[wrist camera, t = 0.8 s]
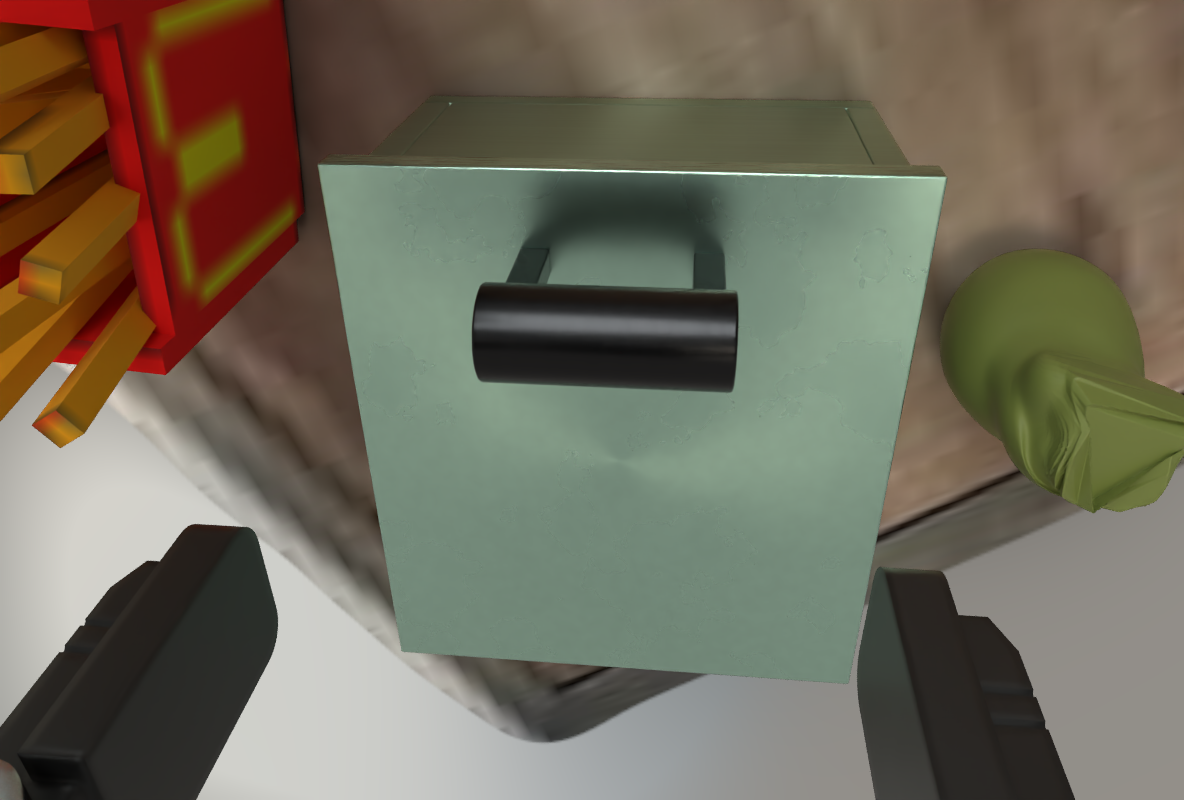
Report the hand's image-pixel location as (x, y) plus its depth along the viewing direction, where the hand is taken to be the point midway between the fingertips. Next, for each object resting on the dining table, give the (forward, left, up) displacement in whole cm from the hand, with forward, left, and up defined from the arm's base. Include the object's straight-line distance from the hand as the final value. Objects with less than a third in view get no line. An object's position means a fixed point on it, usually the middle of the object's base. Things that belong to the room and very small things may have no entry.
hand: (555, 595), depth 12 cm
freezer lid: (+6, 0, -12) cm, 13 cm away
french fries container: (-2, -14, -21) cm, 25 cm away
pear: (+5, +12, -21) cm, 25 cm away
